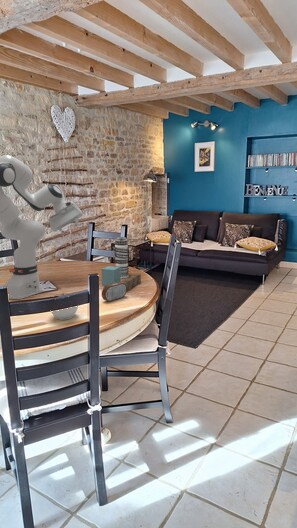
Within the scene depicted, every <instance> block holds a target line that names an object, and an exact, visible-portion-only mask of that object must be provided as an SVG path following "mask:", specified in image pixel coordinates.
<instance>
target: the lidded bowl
mask: <svg viewBox="0 0 297 528" xmlns="http://www.w3.org/2000/svg"><path fill="white" fill-rule="evenodd" d="M70 293H71V292H61V293H58V294H53V295H50V297H54V296H59V295H64V294H70ZM78 308H79V305H78V306H77V307H72V308H68V309H63V310H59V311H53V312H51V311H50V313H51V314H52V315H53V316H54V317H55V318H56V319H57V320H60V321H68V320H70V319H73V317H74V315H75V314H76V313H77V311H78Z"/></svg>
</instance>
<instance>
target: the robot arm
mask: <svg viewBox="0 0 297 528" xmlns="http://www.w3.org/2000/svg"><path fill="white" fill-rule="evenodd" d="M32 181H33V172H32V170H31V168H30V167H29V166H28V165H27V164H26V163H24V162H23V161H21V160H20V159H18V158H16V157H14V156H12V155H10V154H3V155H1V156H0V234H1V235H2V237H4V238H5V239H8V240H12V241H19V246H18V247H17V248H16V249H15V250H14V251H13V261H14V266H13V268H9V270H8V271H9V273H12V275H11V276H10V277H9V279H8V280H7V282H6V283H5V284H4V287H5V286H7V287H8V294H9V299H8V300H21V299H25V298H27V297H28V298H29V297H31V296H34V295H36V294H40V293H43V290H42V287H41V283H40V281H41V280H40V277H39V275H38V264H37V262H36V261H37V256H36V255H37V253H36V251H37V246H38V244H39V242H40V241H41V240H42V239H43V238H44V236H45V233H46V227H45V226H44V224H43V222H40V221H37V220H33V219H22V218H20V217H19V214H20V213H19V212H20V211H19V208H18V207H17V206H16V204H15V203H14V202H13V201H12V199H10V197H9V196H8V195H7V194H6V193H5V191H4V190H3V188H7V187H10V186H12V188H13V190H14V191H15V192H16V194H17V195H18V196H20V197H21V198H22V199H23V200H24V201H25V202H26V203H27V204H28V205H29V206H30V207H31V209H32V210H34V211H37V212H41V211H42V210H45V208H46V207H47V206H50V205H52V209H53V211H54V214H53V215H52V216H50V217H49V218H48V223H49V226H50V230H52V231H53V232H58V231H59V232H61V233H60V234H62V235H65V234H66V232H65V230H64V229H62V228H65V227H66V226H67V225H69V224H72V223H74V222H75V223H74V225H75V227H79V226H80V225H79V221H80V218H82V217H83V214H84V213H83V212H82V210H81V209H80V207H78V204H76V203H75V202H74V201H73V200H71V201H66V196H65V194H64V193H63V190H62V189H61V187H60V186H59V185H57V184H50V183H47V184H46V185H44V186H43V187H41V188H40V189H39V190H37V191H36V192H34V193H30V192H29V190H27V188H28V187H29V186H30V185H31V183H32Z"/></svg>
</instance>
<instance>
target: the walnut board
mask: <svg viewBox="0 0 297 528" xmlns="http://www.w3.org/2000/svg"><path fill="white" fill-rule="evenodd" d="M141 275H142V273H134V274H133V275H131V276H129V277H127V278H125V279H124V280H123V281H121V282H122V283H124V284H125V285H126V286H127V291H126V293H127V292H128V291H129V290H131V289H132V288H133V287H135V286H136V285H138V284H140V283H141V282H142V277H141Z"/></svg>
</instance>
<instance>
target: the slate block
mask: <svg viewBox="0 0 297 528" xmlns="http://www.w3.org/2000/svg"><path fill="white" fill-rule="evenodd" d="M121 279H122V278H120V267H115V266H113V265H108V266H106V267H103V268H101V286H102V287H105V286H106V285H108V284H112V283H117V282H122V281H121Z"/></svg>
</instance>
